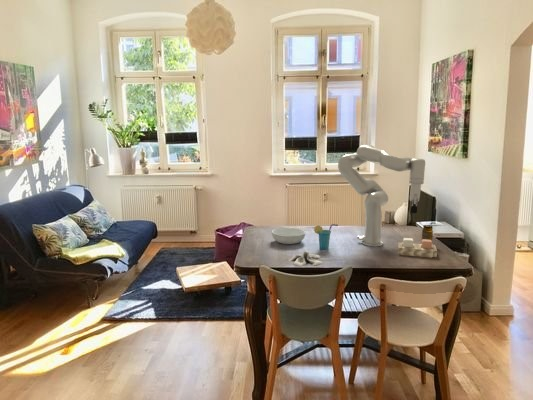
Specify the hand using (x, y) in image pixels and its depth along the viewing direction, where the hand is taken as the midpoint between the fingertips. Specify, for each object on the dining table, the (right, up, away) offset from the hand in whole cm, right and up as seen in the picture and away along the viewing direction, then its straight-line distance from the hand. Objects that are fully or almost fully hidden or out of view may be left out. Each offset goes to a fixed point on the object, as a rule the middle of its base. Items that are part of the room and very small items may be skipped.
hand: (413, 212), depth 239 cm
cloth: (-64, -26, -13) cm, 70 cm away
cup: (-49, -22, +8) cm, 54 cm away
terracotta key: (+6, -22, -2) cm, 23 cm away
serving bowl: (-70, -19, +22) cm, 76 cm away
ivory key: (-3, -21, +1) cm, 21 cm away
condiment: (+13, -20, +16) cm, 29 cm away
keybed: (+2, -23, 0) cm, 23 cm away
